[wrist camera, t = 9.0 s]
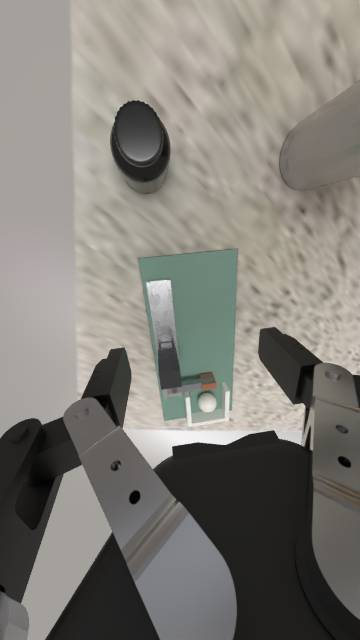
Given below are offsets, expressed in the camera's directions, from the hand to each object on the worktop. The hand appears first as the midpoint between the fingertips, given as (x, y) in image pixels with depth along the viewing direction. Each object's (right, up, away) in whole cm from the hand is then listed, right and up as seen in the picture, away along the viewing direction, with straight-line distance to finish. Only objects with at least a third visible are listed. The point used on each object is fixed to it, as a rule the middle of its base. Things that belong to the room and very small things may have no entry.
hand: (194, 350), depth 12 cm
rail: (-4, -3, +32) cm, 32 cm away
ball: (+6, -18, +37) cm, 41 cm away
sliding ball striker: (+1, -7, +33) cm, 34 cm away
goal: (+6, -19, +40) cm, 44 cm away
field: (+2, -5, +33) cm, 34 cm away
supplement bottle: (-6, +25, +19) cm, 32 cm away
